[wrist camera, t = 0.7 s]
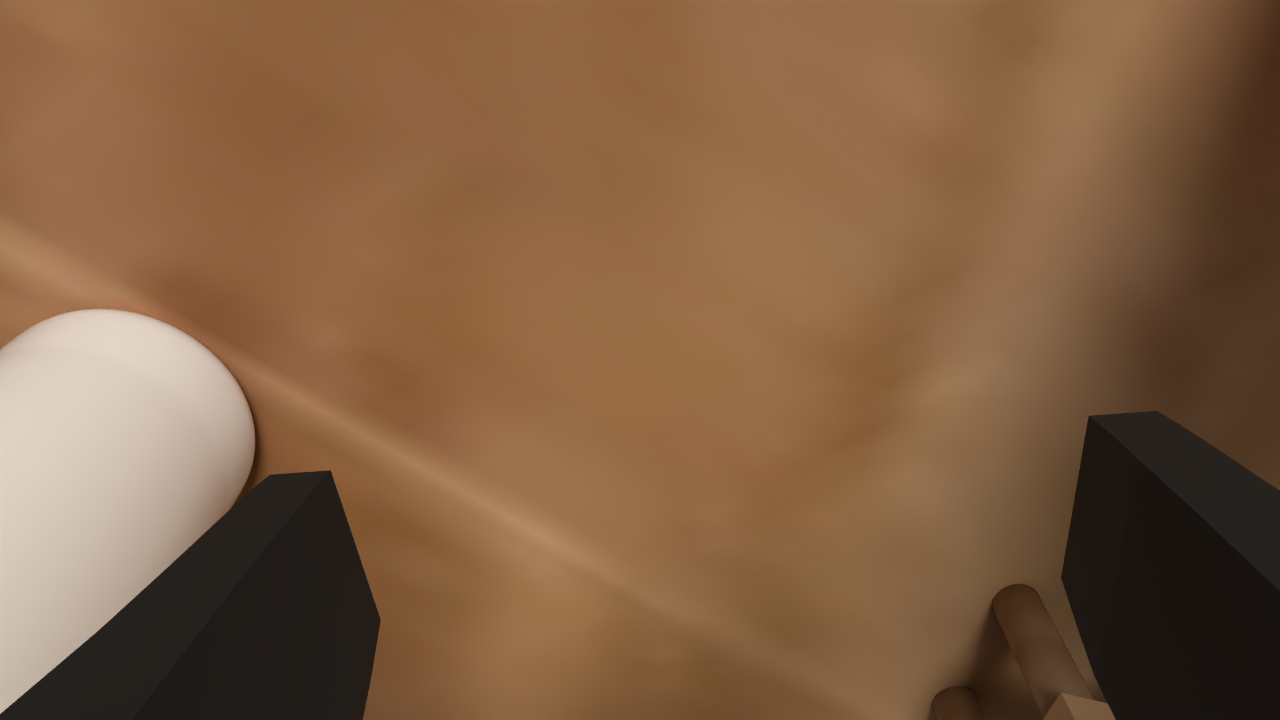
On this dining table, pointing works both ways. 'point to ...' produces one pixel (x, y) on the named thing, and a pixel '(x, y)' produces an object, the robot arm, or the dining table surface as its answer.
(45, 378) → the drinking glass
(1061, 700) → the stool
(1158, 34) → the dining table surface
